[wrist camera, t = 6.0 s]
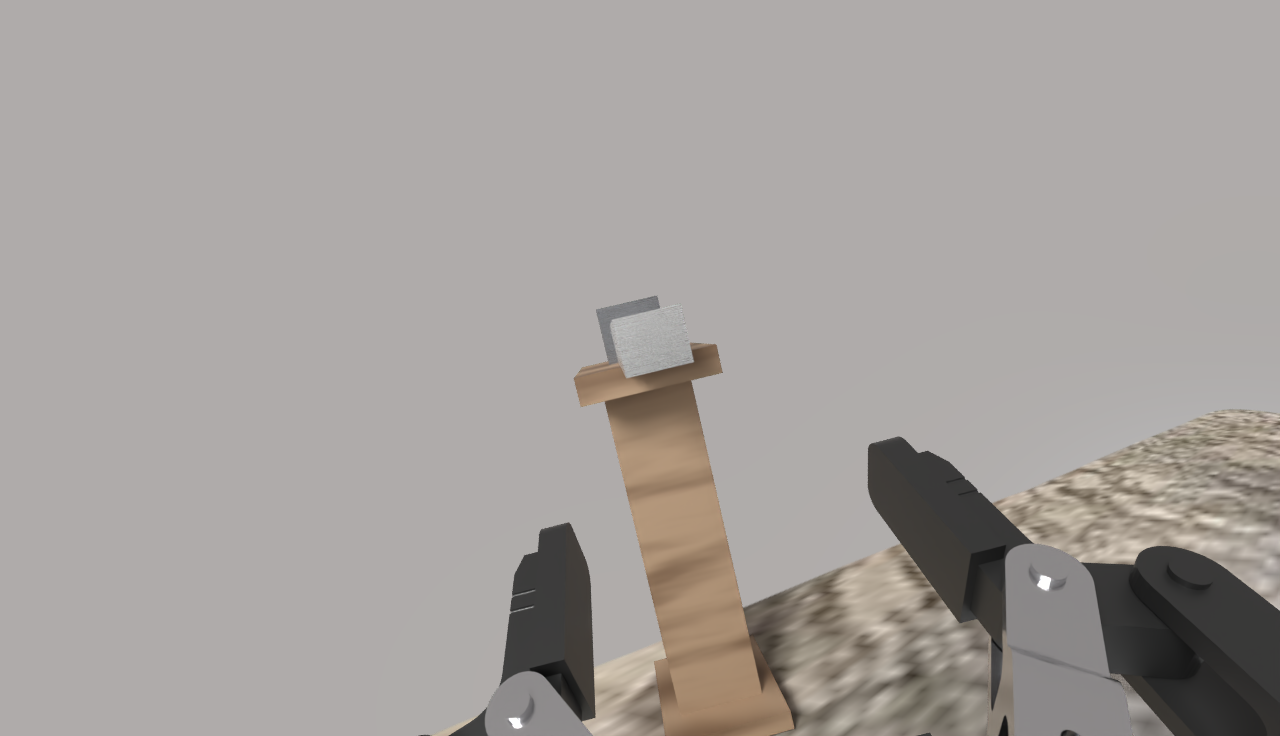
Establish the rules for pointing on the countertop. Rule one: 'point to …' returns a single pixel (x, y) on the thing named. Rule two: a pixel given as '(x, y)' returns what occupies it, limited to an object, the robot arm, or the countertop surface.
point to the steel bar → (644, 336)
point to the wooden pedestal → (686, 553)
